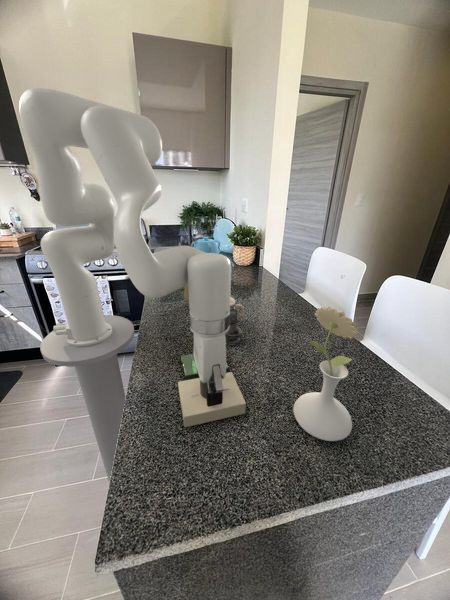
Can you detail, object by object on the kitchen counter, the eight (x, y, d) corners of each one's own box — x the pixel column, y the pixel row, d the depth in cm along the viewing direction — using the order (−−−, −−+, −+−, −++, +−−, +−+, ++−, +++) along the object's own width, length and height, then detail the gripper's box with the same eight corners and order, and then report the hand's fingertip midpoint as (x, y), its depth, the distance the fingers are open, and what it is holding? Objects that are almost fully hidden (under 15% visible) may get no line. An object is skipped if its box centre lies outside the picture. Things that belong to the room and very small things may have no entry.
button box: (185, 382, 62) (184, 369, 60) (181, 362, 69) (180, 350, 67) (228, 374, 64) (228, 362, 63) (220, 355, 71) (220, 344, 70)
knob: (222, 397, 54) (222, 380, 52) (202, 401, 52) (201, 384, 50) (217, 382, 57) (217, 366, 55) (198, 386, 56) (198, 369, 54)
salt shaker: (227, 333, 82) (228, 300, 77) (244, 338, 80) (246, 304, 74) (219, 342, 77) (219, 307, 72) (236, 347, 75) (238, 312, 70)
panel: (184, 427, 50) (183, 416, 49) (178, 391, 59) (177, 381, 58) (245, 413, 54) (246, 402, 52) (231, 381, 62) (231, 371, 61)
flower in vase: (363, 436, 49) (404, 327, 39) (315, 454, 46) (345, 340, 35) (319, 389, 60) (342, 294, 50) (278, 401, 57) (293, 302, 46)
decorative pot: (209, 263, 153) (209, 241, 147) (188, 259, 160) (187, 237, 155) (223, 257, 166) (223, 236, 160) (203, 253, 173) (203, 233, 167)
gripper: (183, 302, 54) (187, 368, 61) (198, 349, 39) (201, 428, 46) (217, 299, 56) (217, 362, 63) (244, 342, 41) (239, 419, 48)
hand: (210, 390), depth 55 cm, fingers open, 7 cm apart
